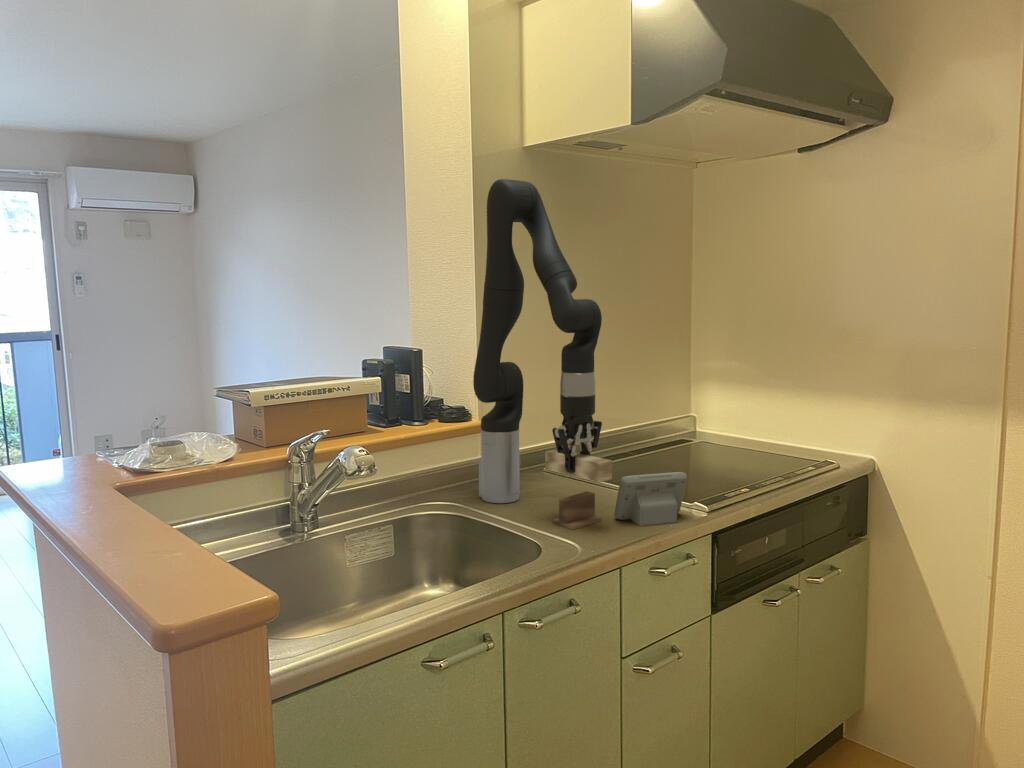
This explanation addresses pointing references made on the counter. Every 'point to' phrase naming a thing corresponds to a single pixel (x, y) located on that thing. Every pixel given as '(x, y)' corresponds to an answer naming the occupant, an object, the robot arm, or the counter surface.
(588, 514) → the walnut ridge
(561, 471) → the beige long bar
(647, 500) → the digital clock
